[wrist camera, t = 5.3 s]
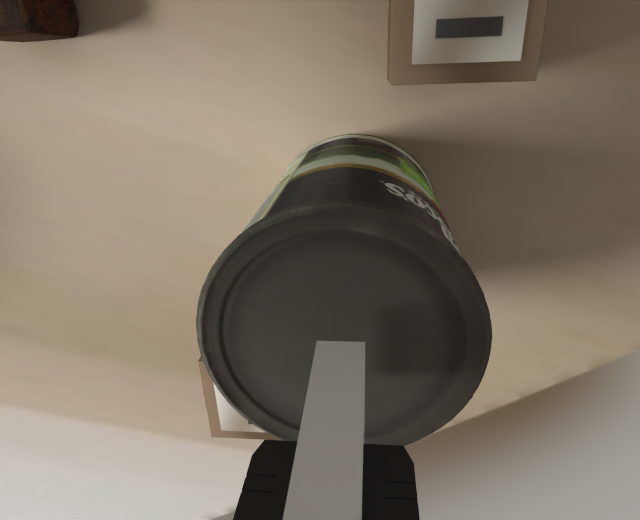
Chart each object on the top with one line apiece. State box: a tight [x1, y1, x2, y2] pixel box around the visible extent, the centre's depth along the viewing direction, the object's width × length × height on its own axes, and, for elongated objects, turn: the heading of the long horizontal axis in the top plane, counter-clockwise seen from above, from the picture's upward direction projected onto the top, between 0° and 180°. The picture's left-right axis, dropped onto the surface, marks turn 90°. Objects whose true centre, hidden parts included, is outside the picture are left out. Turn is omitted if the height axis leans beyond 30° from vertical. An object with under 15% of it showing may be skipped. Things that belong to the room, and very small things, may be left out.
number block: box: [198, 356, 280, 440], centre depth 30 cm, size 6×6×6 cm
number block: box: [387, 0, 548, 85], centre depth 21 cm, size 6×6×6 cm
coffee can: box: [196, 135, 492, 446], centre depth 22 cm, size 10×10×14 cm
